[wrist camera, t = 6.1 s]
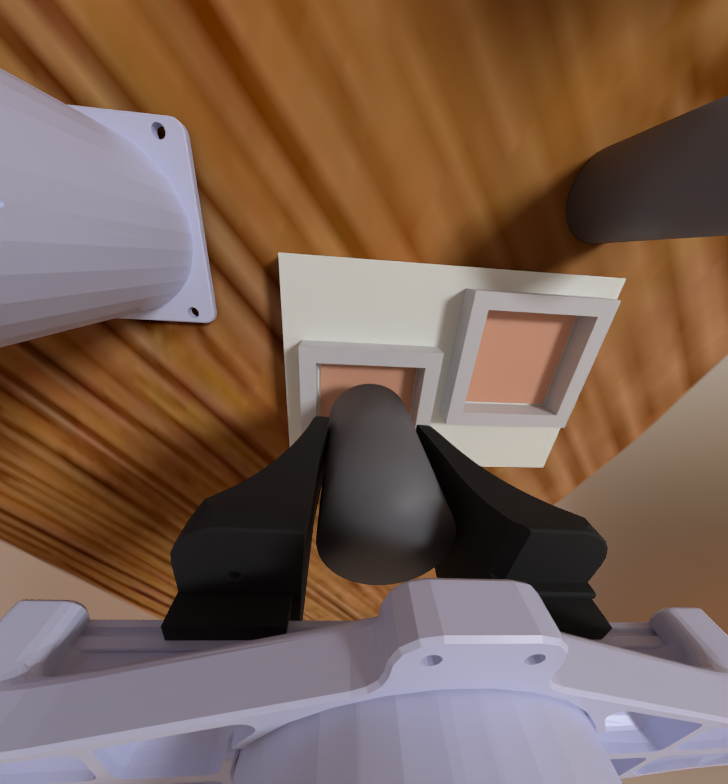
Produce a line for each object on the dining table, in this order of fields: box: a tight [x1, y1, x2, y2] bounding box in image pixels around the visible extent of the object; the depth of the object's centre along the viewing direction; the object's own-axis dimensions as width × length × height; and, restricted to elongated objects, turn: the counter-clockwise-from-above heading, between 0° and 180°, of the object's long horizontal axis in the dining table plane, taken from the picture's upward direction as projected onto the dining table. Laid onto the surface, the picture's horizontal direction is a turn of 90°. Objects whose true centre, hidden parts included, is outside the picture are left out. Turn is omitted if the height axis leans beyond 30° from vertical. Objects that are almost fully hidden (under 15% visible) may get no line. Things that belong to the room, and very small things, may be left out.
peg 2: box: [566, 95, 728, 244], centre depth 10 cm, size 4×4×7 cm
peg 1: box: [316, 384, 456, 585], centre depth 11 cm, size 4×4×7 cm
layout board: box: [278, 253, 626, 467], centre depth 16 cm, size 17×12×2 cm
